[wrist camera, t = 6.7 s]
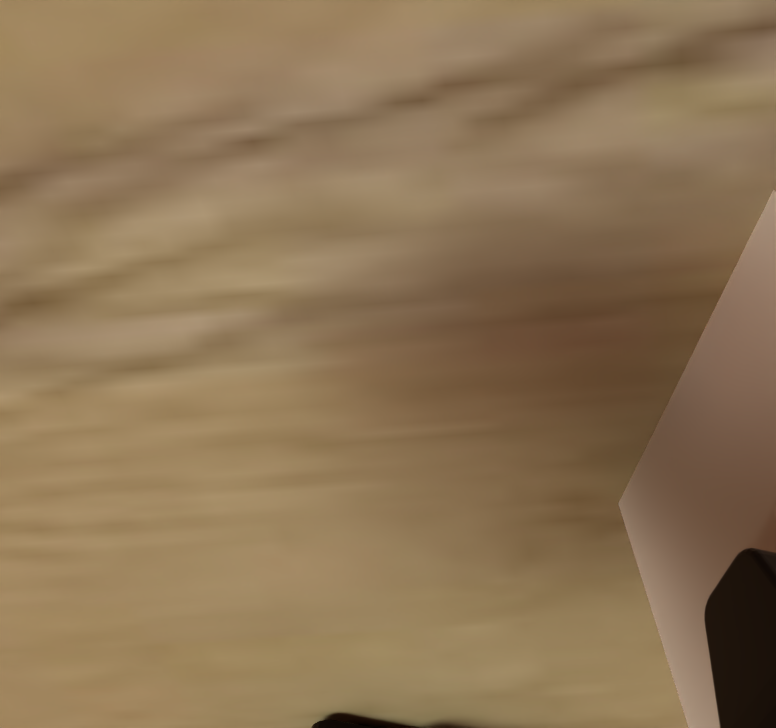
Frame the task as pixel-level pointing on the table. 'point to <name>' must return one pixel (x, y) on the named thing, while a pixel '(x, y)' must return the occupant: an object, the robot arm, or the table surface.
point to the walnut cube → (710, 470)
